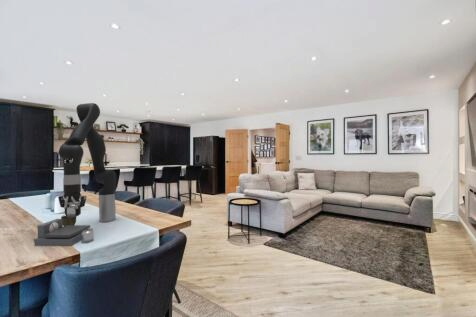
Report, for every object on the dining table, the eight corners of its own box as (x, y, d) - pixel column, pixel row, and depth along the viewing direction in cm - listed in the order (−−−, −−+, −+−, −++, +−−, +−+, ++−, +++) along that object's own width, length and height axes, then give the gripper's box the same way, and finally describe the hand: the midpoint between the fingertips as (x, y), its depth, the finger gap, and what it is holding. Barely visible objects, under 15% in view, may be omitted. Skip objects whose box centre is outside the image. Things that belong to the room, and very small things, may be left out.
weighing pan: (66, 227, 129) (66, 225, 129) (90, 227, 129) (90, 225, 129) (43, 237, 114) (43, 234, 114) (69, 237, 114) (69, 235, 114)
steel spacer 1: (64, 217, 123) (64, 207, 123) (71, 214, 128) (71, 205, 128) (74, 217, 123) (73, 207, 123) (80, 214, 128) (80, 205, 128)
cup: (63, 228, 140) (63, 214, 140) (78, 226, 143) (78, 213, 143) (59, 232, 133) (59, 217, 133) (74, 230, 136) (74, 216, 136)
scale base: (60, 234, 130) (59, 217, 130) (92, 234, 130) (92, 217, 129) (34, 245, 114) (33, 227, 114) (71, 245, 114) (70, 227, 113)
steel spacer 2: (86, 239, 122) (85, 229, 122) (95, 239, 122) (95, 229, 122) (79, 243, 117) (79, 232, 117) (89, 243, 117) (89, 232, 117)
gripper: (53, 184, 121) (53, 217, 122) (80, 184, 121) (81, 217, 121) (64, 182, 129) (65, 213, 129) (90, 182, 128) (90, 213, 129)
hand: (72, 215), depth 125 cm, fingers closed on steel spacer 1, 5 cm apart
